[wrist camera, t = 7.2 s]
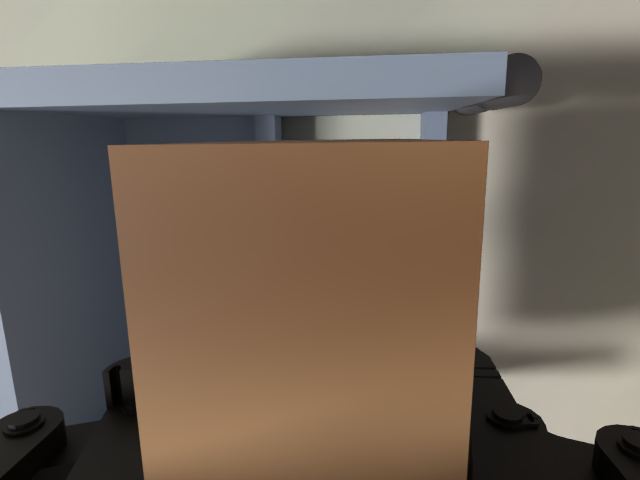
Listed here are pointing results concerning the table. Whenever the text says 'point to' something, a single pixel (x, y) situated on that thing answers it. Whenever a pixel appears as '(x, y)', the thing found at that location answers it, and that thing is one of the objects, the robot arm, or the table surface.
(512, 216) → the table surface
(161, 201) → the tan wooden block
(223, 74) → the cabinet
